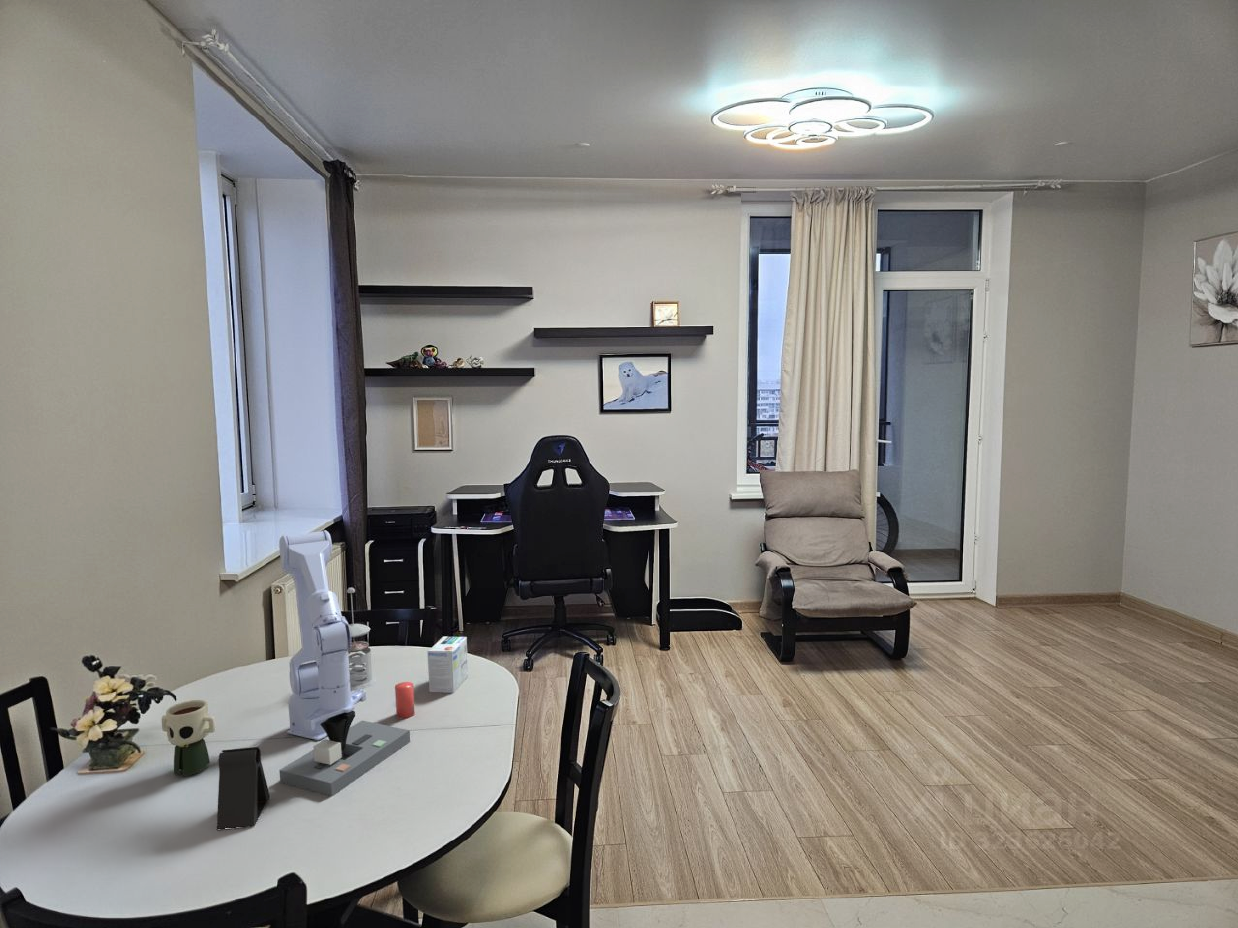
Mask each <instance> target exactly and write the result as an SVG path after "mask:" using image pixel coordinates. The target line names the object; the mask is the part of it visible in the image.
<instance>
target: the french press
mask: <svg viewBox="0 0 1238 928" xmlns="http://www.w3.org/2000/svg"><path fill="white" fill-rule="evenodd" d="M355 592H356V589H355V588H354V587H348V589H347V590H346V593H347V594H350V601H351V614H352V615H351V617H352V623H351V624H348V625H349V628H350V632H351V638H353V641H351V648H350V649H348V648H347V650H348V658H349V674H350V690H351V691H357V690H364V689H366V688H369V687H372V686H373V685H375V683H377V680H378V679H377V678H376V677H375V676H374V675H373V665H372V649H371V648H370V643H369V642H367V641H363V640H361V641H360V640H359V641H355V638H357V637H362V636H365V635H367V634H369V633H370V630H371V628H370V627H369V626H367V625H366V624H361V623H354V608H353V594H354V593H355ZM351 653H352V654H351ZM363 653H364V654H363Z"/></svg>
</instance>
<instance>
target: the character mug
mask: <svg viewBox="0 0 1238 928" xmlns="http://www.w3.org/2000/svg"><path fill="white" fill-rule="evenodd" d="M165 713H166V714H165V715H162V717H161V728H162V731H163V732H166V736H167V741H168V742H169V743H170V744H171V745H173V746H174V755H173V774H174V775H176V776H180V771H183V772H182V774H183V776H189V775H190V776H191V775H193V774H194V775H195V774H197V773H200V772H202V771H203V770H204V769H205V768H206V767H208V766H209V764H210V763H211V762H210V757H209V751H208V747H207V743H206V740H205V738H206V737H207V736H208V735H209V733H210V734H211V733H214V732H215V730H216V722H215V717H214V716H209V707H208V702H207V701H205V700H201V699H193V700H187V701H183V702H180V703H179V702H178V703H176V704H174V705H172V706H170V707H168V709H167V710H166V712H165Z"/></svg>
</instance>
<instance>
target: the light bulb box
mask: <svg viewBox="0 0 1238 928" xmlns="http://www.w3.org/2000/svg"><path fill="white" fill-rule="evenodd" d="M467 638H468V637H467V636H442V637H441V638H440V639H439V640H438V641H437V642H436V643H435V644H434V645H433V646H431V648H430V649H427V666H428V667H427V668H428V670H427V671H428V686H429V687H428V688H429V693H430V692H431V693H443V694H444V693H448V694H449V693H450V694H454V693H455V691H457V690H458V689H459V687H460V686H461V685H462V684H463V682H464V681H465V680H466V679H467V678H468V677H469V665H468V663H469V661H468V643H467V641H468V639H467Z"/></svg>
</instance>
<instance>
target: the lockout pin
mask: <svg viewBox="0 0 1238 928" xmlns="http://www.w3.org/2000/svg"><path fill="white" fill-rule="evenodd" d="M394 693H395V709H396V710H395V711H396V712H395V714H396V718H397V719H400V718H401V720H402V719H403V720H404V719H409V718H412V717H413V716H415V715H416V714H415V697H414V695H415V691H414V683H413V682H411V681H404V682H399V683H397V684H395V686H394Z"/></svg>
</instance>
